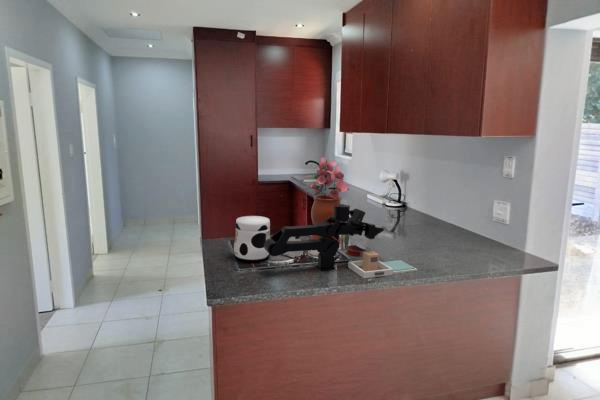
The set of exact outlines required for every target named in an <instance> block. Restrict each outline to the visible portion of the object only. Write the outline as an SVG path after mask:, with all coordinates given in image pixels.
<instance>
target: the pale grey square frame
mask: <svg viewBox="0 0 600 400" xmlns="http://www.w3.org/2000/svg"><path fill="white" fill-rule="evenodd" d="M382 262H383V261H380V260H379V267H378V270H374V271H364V270H362V263H363V259H362V260H359V259H358V260H352V261H348V262H347V268H349V269H350V270H352V271H353V272H354V273H355V274H357V275H358V276H360V277H361V278H363V279H369V278H370V279H371V278H377V277H378V278H380V277H387V276H393V275H394V274H393V269H392V268H391V267H389V266H387V265H385V264H384V263H382Z"/></svg>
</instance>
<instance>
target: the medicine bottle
mask: <svg viewBox="0 0 600 400" xmlns="http://www.w3.org/2000/svg"><path fill="white" fill-rule="evenodd" d="M300 237H301V236H297V237H290V238H289V240H288V241H301V240H300V239H301V238H300ZM286 254H290V255H293V256H299V257H302V256H304V251H292V252H286ZM301 255H302V256H301Z"/></svg>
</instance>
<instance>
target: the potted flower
mask: <svg viewBox="0 0 600 400" xmlns="http://www.w3.org/2000/svg"><path fill="white" fill-rule="evenodd" d="M337 165H338V163H337V160H333V161H332V160H331V161H328V160H327V159H326V157H325V156H322V157H321V158H320V162H319V167H318V168H317V169H316V175H314V177H313V179H314V180H316V181H313V184H311V185H310V187H309V189H313V191H314V193H315V195H313V196H312V197H313V200H314V201H313V204H312V207H311V212H310V215H311V217H310V218H311V222H312V225H314V224H316V223H319V222H323V221H326V220H327V219H329V218H330V217H331V216H332V217H334V206H337V205H339V204H342V200H343V197H342V196H340V193H345V192H347V191H349V190H350V189H349V183H348V182H346V181H344V177H345V175H344V173H342V172H341V170H342V167H341V166H337ZM335 166H337V167H336V168H335V169H334V167H335ZM317 184H319V185H320V186H318V185H317ZM332 184H333V187H329V186H332ZM323 185H324V190H326V187H327V189H328V190H330V191H329V194H323V191H322V190H321V189H320V188H321V186H323ZM319 192H321V194H319ZM340 222H342V221H340ZM331 224H334V223H331ZM332 237H333V236H332ZM319 238H320V236H318V235H310V240H317V239H319ZM333 238H334V237H333ZM334 239H335V238H334ZM341 239H342V237H341V235H339V240H337V239H336V240H337V241H338V242H339V244H340V245H341V242H342V240H341Z"/></svg>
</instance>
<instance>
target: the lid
mask: <svg viewBox="0 0 600 400" xmlns="http://www.w3.org/2000/svg"><path fill="white" fill-rule="evenodd" d="M381 262H382V263H384V264H385V265H387V266H389V267H391V268H392V269H393V275H396V274H402V273H403V274H405V273H412V272H418V269H417V268H416V267H414V266H412V265H410V264H409V263H407V262H406V261H403V260H400V259H399V260H388V261H381Z"/></svg>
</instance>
